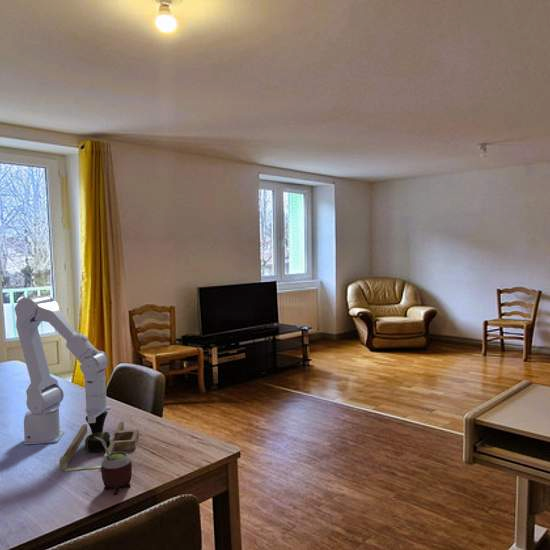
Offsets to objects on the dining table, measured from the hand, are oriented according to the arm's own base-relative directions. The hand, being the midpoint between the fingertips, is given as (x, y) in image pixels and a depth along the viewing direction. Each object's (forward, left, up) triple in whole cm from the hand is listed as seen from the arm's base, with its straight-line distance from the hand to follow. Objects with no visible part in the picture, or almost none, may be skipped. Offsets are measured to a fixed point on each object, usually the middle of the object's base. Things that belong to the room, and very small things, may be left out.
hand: (97, 437), depth 140 cm
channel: (+3, -4, -1) cm, 5 cm away
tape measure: (+2, -4, -2) cm, 5 cm away
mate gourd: (+10, -29, -2) cm, 31 cm away
